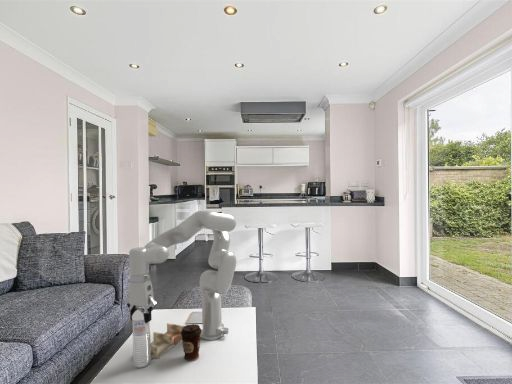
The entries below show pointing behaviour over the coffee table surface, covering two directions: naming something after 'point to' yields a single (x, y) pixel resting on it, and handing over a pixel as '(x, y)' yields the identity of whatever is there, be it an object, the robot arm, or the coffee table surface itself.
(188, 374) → the coffee table surface
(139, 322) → the water bottle
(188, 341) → the coffee cup
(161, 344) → the wooden bottle cradle
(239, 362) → the coffee table surface
